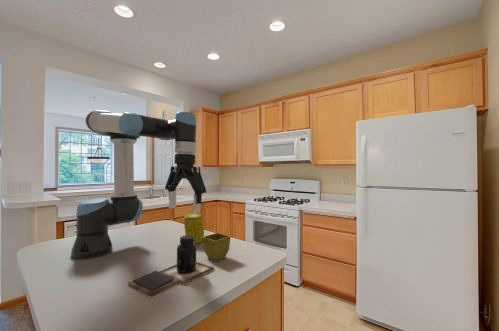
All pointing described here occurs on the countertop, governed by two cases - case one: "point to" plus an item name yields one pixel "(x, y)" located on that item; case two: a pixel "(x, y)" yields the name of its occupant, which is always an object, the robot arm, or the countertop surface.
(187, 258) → the supplement bottle
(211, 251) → the flower pot
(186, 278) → the board
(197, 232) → the food
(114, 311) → the countertop surface
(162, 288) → the ink tray
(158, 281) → the pad
